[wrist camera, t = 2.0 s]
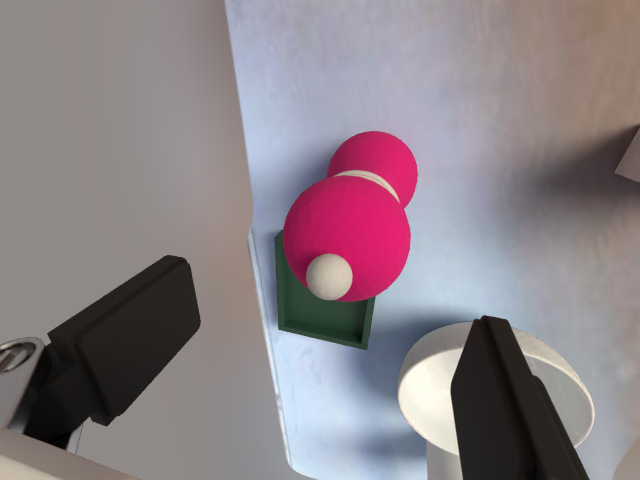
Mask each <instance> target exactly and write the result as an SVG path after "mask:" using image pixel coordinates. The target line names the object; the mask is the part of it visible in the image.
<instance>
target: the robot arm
mask: <svg viewBox="0 0 640 480" xmlns="http://www.w3.org/2000/svg"><path fill="white" fill-rule="evenodd" d="M200 323H201V321H200V315H199V309H198V304H197V299H196V294H195V288H194V284H193V278H192V273H191V268H190V265H189V263H187V260H186V259H185V258H182V257H177V256H172V255H167V256H164V257H163V258H161V259H160V260H159V261H157V262H155V263H154V264H152V265H151V266H149V267H148V268H146V269H145V270H143V271H142V272H140V273H139V274H137V275H136V276H134V277H132V278H131V279H130V280H128V281H126V282H125V283H123V284H122V285H120V286H119V287H117V288H116V289H114V290H113V291H111V292H110V293H108V294H107V295H105V296H103V297H102V298H101V299H99V300H97V301H96V302H94V303H93V304H91V305H90V306H88V307H87V308H85V309H84V310H82V311H81V312H79V313H78V314H76V315H75V316H73V317H71V318H70V319H68V320H67V321H65V322H64V323H62V324H61V325H59V326H58V327H56V328H55V329H53V330H52V331H50V332H49V333H47V334H48V336H49V338H50V340H51V343H50V344H48V345H47V346H45V345H44V343H43V341H42V340H41V339H39V338H36V337H25V338H18V339H15V340H11V341H8V342H5V343H3V344H0V480H140V479H137V478H134V477H132V476H130V475H127V474H124V473H122V472H119V471H116V470H114V469H112V468H109V467H106V466H104V465H101V464H99V463H96V462H94V461H91V460H88V459H86V458H83V457H81V456H78V455H76V451H77V448H78V444H79V440H80V436H81V431H82V427H83V422H84V421H85V420H86V419H87V418H88V417H89V416H90V418H91V420H92V421H93V422H96V423H98V424H101V425H104V426H108V425H109V424H110V423H111V422H112V421H113V420H114V418H115V417H117V416H120V415H121V414H123V413H124V412H125V411H126V410H127V409H128V407H129V406H130V405H131V404H132V403H133V402H134V401H135V400H136V398H137V397H138V396H139V395H140V394H141V393H142V392H143V391H144V390H145V389H146V387H147V386H148V385H149V384H150V383H151V382H152V381H153V379H154V378H155V377H156V376H157V375H158V374H159V373H160V372H161V371H162V370H163V368H164V367H165V366H166V365H167V364H168V363H169V362H170V361H171V360H172V358H173V357H174V356H175V355H176V354H177V353H178V352H179V350H181V348H182V347H183V346H184V345H185V344H186V343H187V342H188V341H189V339H190V338H191V337H192V336H193V335H194V334H195V333H196V332H197V330H198V329H199V327H200ZM450 395H451V402H452V409H453V415H454V422H455V429H456V436H457V443H458V449H459V456H460V463H461V470H462V477H463V480H589V478H588V475H587V473H586V471H585V469H584V467H583V465H582V463H581V461H580V459H579V457H578V454H577V452H576V450H575V448H574V446H573V444H572V442H571V440H570V438H569V436H568V434H567V431H566V429H565V427H564V425H563V423H562V421H561V419H560V417H559V415H558V413H557V411H556V408H555V406H554V404H553V402H552V400H551V398H550V396H549V394H548V392H547V390H546V387H545V385H544V384H543V382H542V381H541V379H540V378H539V377H537V376H535V375H533V374H532V372H531V370H530V368H529V366H528V363H527V361H526V359H525V357H524V354H523V352H522V350H521V348H520V346H519V343H518V341H517V339H516V337H515V335H514V332H513V330H512V328H511V326H510V324H509V322H508V320H506V319H501V318H496V317H491V316H486V315H484V316H482V317H481V319H480V320H479V319H475V320H474V321H473V323H472V326H471V329H470V332H469V334H468V337H467V340H466V343H465V345H464V348H463V351H462V354H461V356H460V359H459V362H458V365H457V367H456V370H455V373H454V376H453V378H452V381H451V386H450Z"/></svg>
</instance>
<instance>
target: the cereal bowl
mask: <svg viewBox="0 0 640 480" xmlns="http://www.w3.org/2000/svg"><path fill="white" fill-rule="evenodd" d="M472 323H473V322H471V321H470V322H464V323H455V324H451V325H448V326H444V327H441V328H439V329H436V330H434V331H432V332H429V333H428V334H426V335H425V336H423V337H422V338H421V339H420V340H418V341H417V342H416V343H415V344H414V345H413V346H412V348H410V349H409V351H408V353H407V354H406V356H405V358H404V360H403V363H402V365H401V369H400V371H399V377H398V385H397V400H398V405H399V408H400V410H401V412H402V414H403V416H404V418H405V419H406V421H407V422H408V423H409V425H410V426H411V427H412V428H413V429H414V430H415V431H416V432H417V433H418V434H420V435H421V436H422V437H423V438H425V439H426V440H427V441H429V442H430V443H432V444H434V445H435V446H437V447H439V448H441V449H443V450H445V451H447V452H450V453H452V454H455V455H458V456H459V449H458V443H457V436H456V429H455V422H454V415H453V409H452V402H451V395H450V386H451V381H452V378H453V376H454V373H455V370H456V367H457V365H458V362H459V359H460V356H461V354H462V351H463V348H464V345H465V343H466V340H467V337H468V334H469V332H470V329H471V326H472ZM511 328H512V330H513V332H514V335H515V337H516V339H517V341H518V343H519V346H520V348H521V350H522V352H523V354H524V357H525V359H526V361H527V363H528V366H529V368H530V370H531V372H532V374H533V375H535V376H537V377H539V378H540V379H541V381H542V382H543V384H544V385H545V387H546V390H547V392H548V394H549V396H550V398H551V400H552V402H553V404H554V406H555V408H556V411H557V413H558V415H559V417H560V419H561V421H562V423H563V425H564V427H565V429H566V431H567V434H568V436H569V438H570V440H571V442H572V444H573V446H574V448H576V447H577V446H578V445H579V444H580V443H581V442H582V441H583V440H584V439H585V438H586V437H587V435H588V434H589V432H590V430H591V428H592V426H593V422H594V405H593V402H592V399H591V397H590V394H589V392H588V391H587V390H586V387H585V385H584V384H583V383H582V382H581V380H580V378H579V377H578V376H577V374H576V373H575V371H574V370H573V369H572V368H571V367H570V366H569V364H568V363H567V362H566V361H565V360H564V359H563V358H562V357H561V355H559V354H558V353H557V352H556V351H555V350H554V349H553V348H551V347H550V346H549V345H548V344H546V343H544V342H542V341H541V340H540V339H538V338H536V337H534V336H532V335H531V334H528V333H526V332H524V331H521V330H518V329H516V328H513V327H511Z"/></svg>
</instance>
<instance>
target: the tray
mask: <svg viewBox="0 0 640 480" xmlns="http://www.w3.org/2000/svg"><path fill="white" fill-rule="evenodd" d="M275 252H276V277H277V303H278V330H282V331H286V332H291V333H295V334H299V335H303V336H308V337H312V338H316V339H321V340H325V341H329V342H333V343H338V344H342V345H346V346H351V347H355V348H359V349H363V350H367V347H368V340H369V334H370V328H371V321H372V315H373V309H374V302H375V296H374V297H371V298H368V299H366V300H360V301H355V302H343V301H336V300H324V299H321V298H318V297H317V296H316V295H314V294H313V293H312V292H311V291H310V290H309V289H308V288H307V287H305V286H304V285H303V284H302V283H301V282H300V281H299V280H298V278H297V277H296V276H295V275H294V273H293V272H292V270H291V268H290V266H289V264H288V262H287V260H286V256H285V253H284V248H283V230H281V231H280V232H279V234H278V235H277V236H276V237H275Z"/></svg>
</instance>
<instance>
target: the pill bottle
mask: <svg viewBox="0 0 640 480" xmlns="http://www.w3.org/2000/svg"><path fill="white" fill-rule="evenodd" d="M426 451H427V475H428V480H463V477H462V470H461V463H460V456H458V455H455V454H452V453H450V452H447V451H445V450H443V449H441V448H439V447H437V446H435V445H434V444H432V443H430V442H429V441H426Z"/></svg>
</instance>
